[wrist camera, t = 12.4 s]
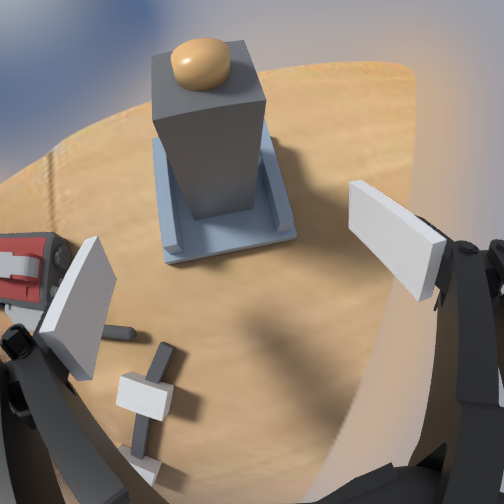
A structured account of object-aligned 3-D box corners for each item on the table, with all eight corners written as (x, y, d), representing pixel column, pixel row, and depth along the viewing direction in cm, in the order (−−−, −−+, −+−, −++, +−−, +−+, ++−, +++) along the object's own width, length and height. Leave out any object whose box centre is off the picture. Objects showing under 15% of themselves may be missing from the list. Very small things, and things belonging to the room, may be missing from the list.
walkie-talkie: (-16, 319, 20) (141, 347, 21) (-43, 316, 16) (119, 352, 16) (-9, 239, 22) (146, 237, 23) (-34, 228, 18) (127, 220, 18)
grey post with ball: (194, 220, 22) (144, 101, 9) (186, 169, 23) (146, 38, 10) (253, 209, 22) (268, 79, 9) (241, 159, 23) (244, 21, 10)
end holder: (167, 264, 22) (156, 256, 19) (155, 155, 24) (146, 135, 21) (294, 239, 23) (303, 226, 20) (265, 134, 25) (268, 112, 22)
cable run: (114, 491, 17) (106, 502, 15) (138, 333, 21) (128, 334, 18) (154, 506, 17) (148, 519, 15) (185, 348, 20) (179, 351, 18)
